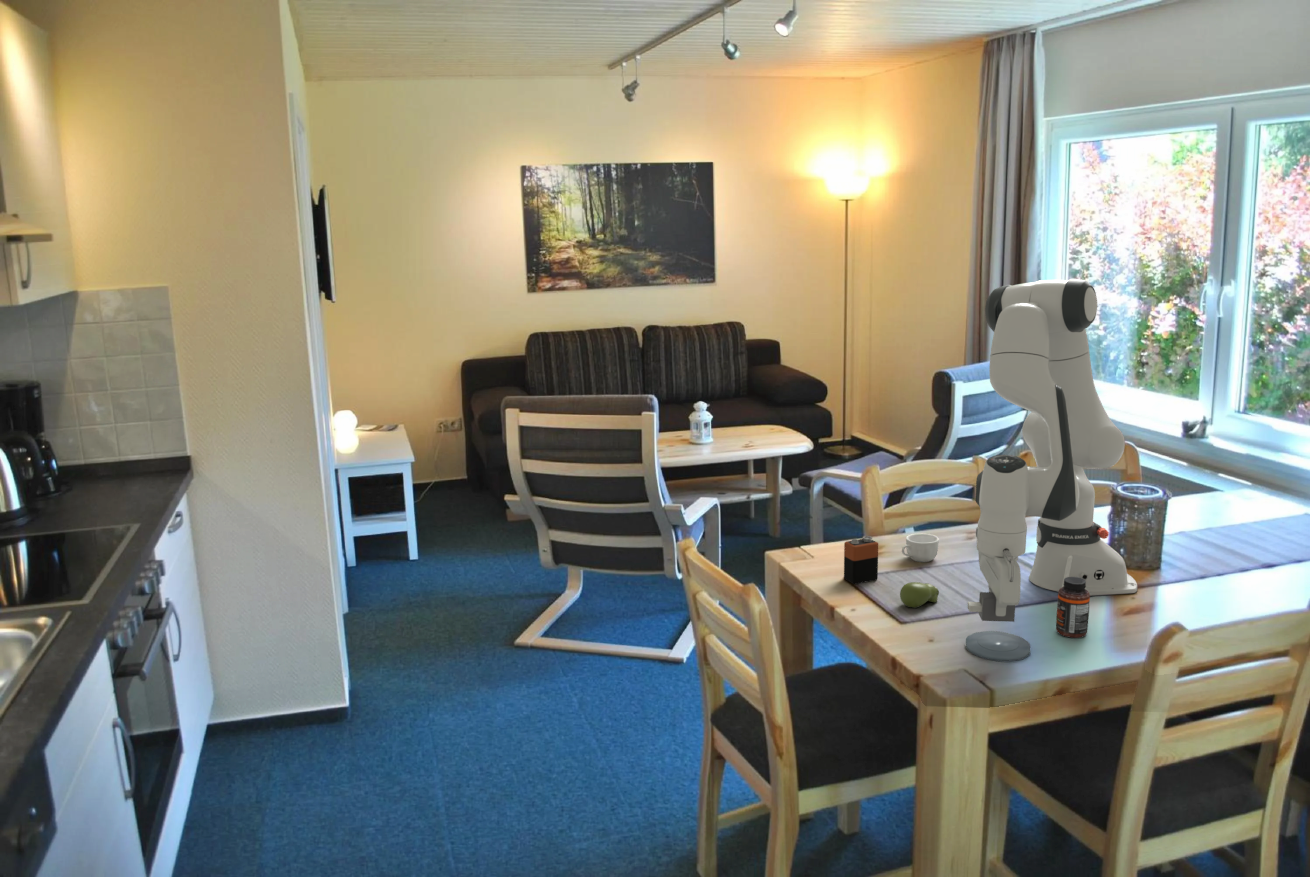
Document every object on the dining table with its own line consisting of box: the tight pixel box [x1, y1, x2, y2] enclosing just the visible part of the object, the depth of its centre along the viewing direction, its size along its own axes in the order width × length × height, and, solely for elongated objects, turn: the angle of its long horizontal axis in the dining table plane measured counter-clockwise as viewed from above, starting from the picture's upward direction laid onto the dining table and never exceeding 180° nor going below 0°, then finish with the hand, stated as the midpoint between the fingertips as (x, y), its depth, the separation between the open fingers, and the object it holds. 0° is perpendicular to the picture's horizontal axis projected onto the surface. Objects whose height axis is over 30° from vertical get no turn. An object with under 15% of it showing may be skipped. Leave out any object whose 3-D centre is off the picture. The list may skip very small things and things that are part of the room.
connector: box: [967, 591, 1016, 623], centre depth 200 cm, size 8×4×4 cm, turn 83°
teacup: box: [901, 532, 940, 563], centre depth 252 cm, size 10×8×5 cm
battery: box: [843, 535, 879, 585], centre depth 239 cm, size 4×7×10 cm, turn 113°
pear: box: [899, 581, 940, 609], centre depth 225 cm, size 6×5×10 cm
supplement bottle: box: [1055, 577, 1091, 639], centre depth 207 cm, size 6×6×11 cm
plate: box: [965, 630, 1032, 662], centre depth 202 cm, size 12×12×1 cm
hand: (997, 610), depth 200 cm, fingers closed on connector, 3 cm apart
